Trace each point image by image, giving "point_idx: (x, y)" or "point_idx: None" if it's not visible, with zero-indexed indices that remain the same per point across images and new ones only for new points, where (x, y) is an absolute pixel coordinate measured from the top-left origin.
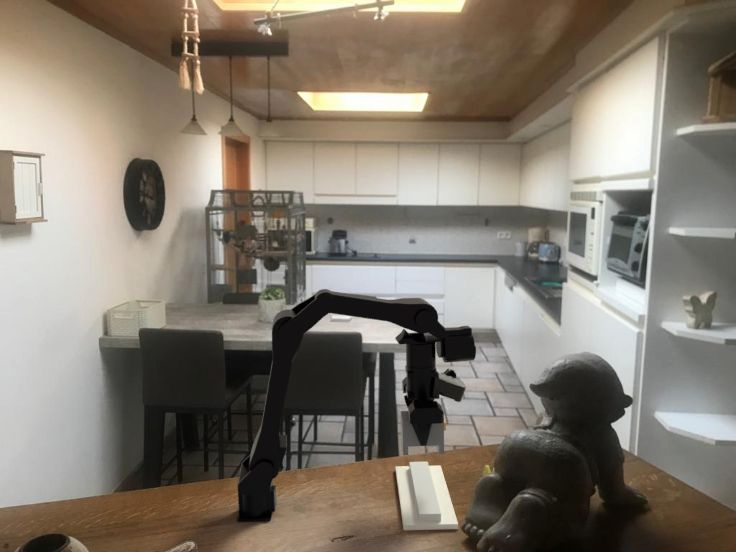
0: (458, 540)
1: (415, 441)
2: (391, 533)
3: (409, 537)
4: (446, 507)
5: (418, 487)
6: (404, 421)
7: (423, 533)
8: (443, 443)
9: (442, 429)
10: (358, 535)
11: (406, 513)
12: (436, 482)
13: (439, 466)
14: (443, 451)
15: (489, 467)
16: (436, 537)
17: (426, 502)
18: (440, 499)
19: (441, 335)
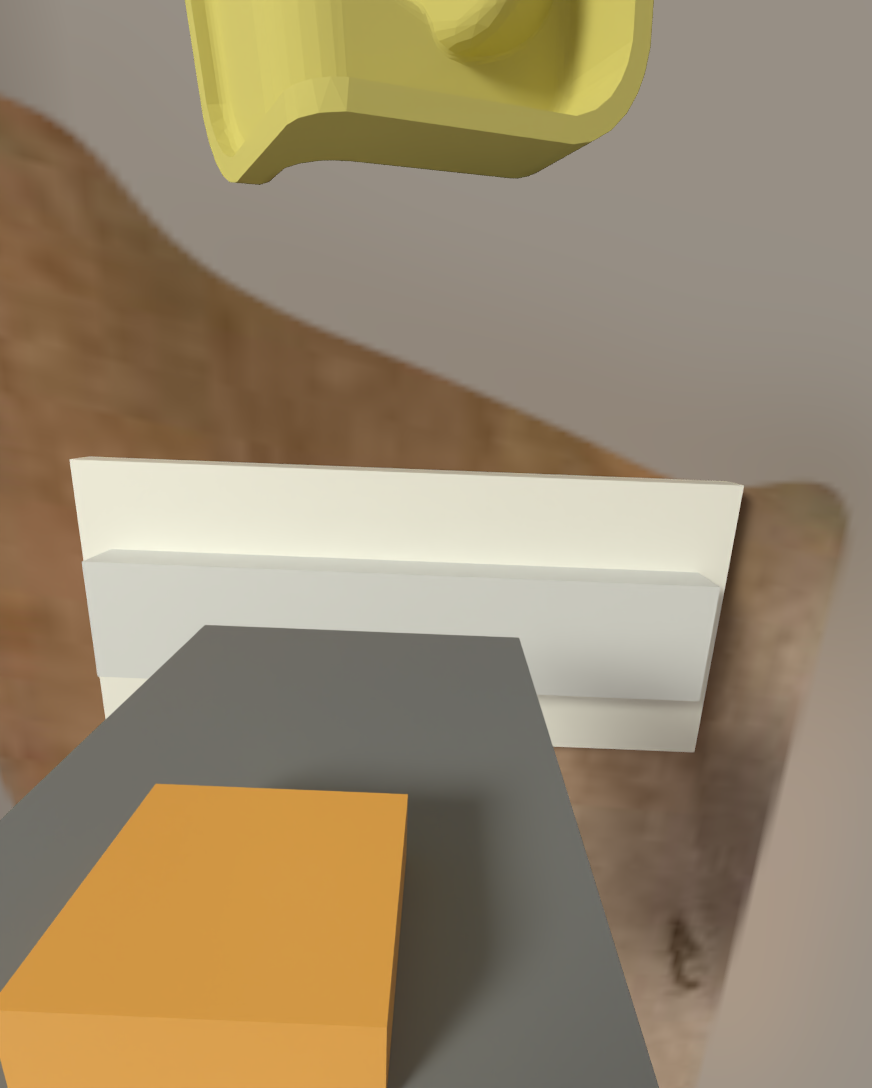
0: (819, 499)
1: None
2: (692, 785)
3: (739, 717)
4: (571, 518)
5: None
6: None
7: (723, 654)
8: (542, 726)
9: (625, 1010)
10: (679, 903)
11: (595, 728)
12: (291, 525)
13: (84, 470)
14: (520, 659)
15: (353, 78)
16: (768, 601)
17: (589, 647)
18: (484, 536)
19: None
